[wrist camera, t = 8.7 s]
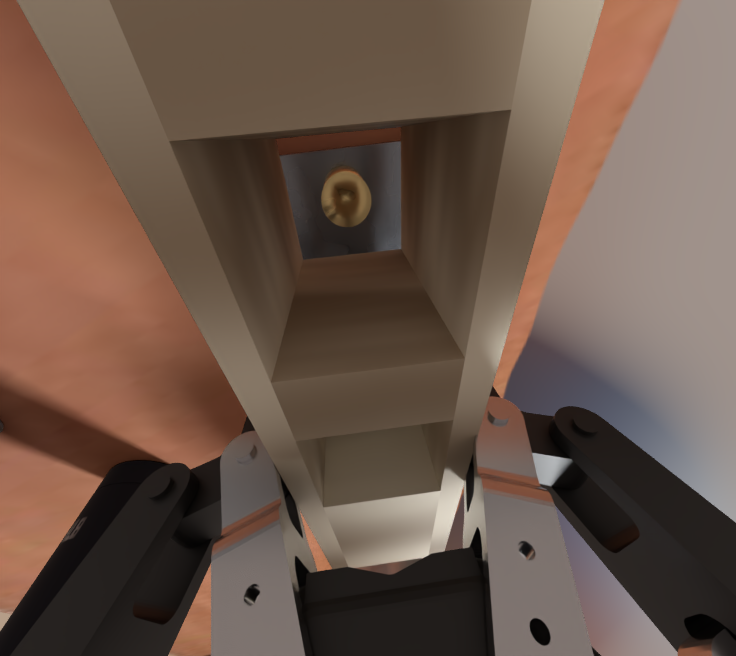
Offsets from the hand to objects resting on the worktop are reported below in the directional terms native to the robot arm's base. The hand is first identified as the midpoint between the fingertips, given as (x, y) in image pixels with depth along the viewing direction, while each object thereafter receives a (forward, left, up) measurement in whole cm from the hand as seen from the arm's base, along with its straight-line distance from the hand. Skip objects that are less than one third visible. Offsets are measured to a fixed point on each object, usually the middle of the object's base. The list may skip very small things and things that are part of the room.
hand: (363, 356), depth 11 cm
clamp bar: (0, 0, -1) cm, 1 cm away
